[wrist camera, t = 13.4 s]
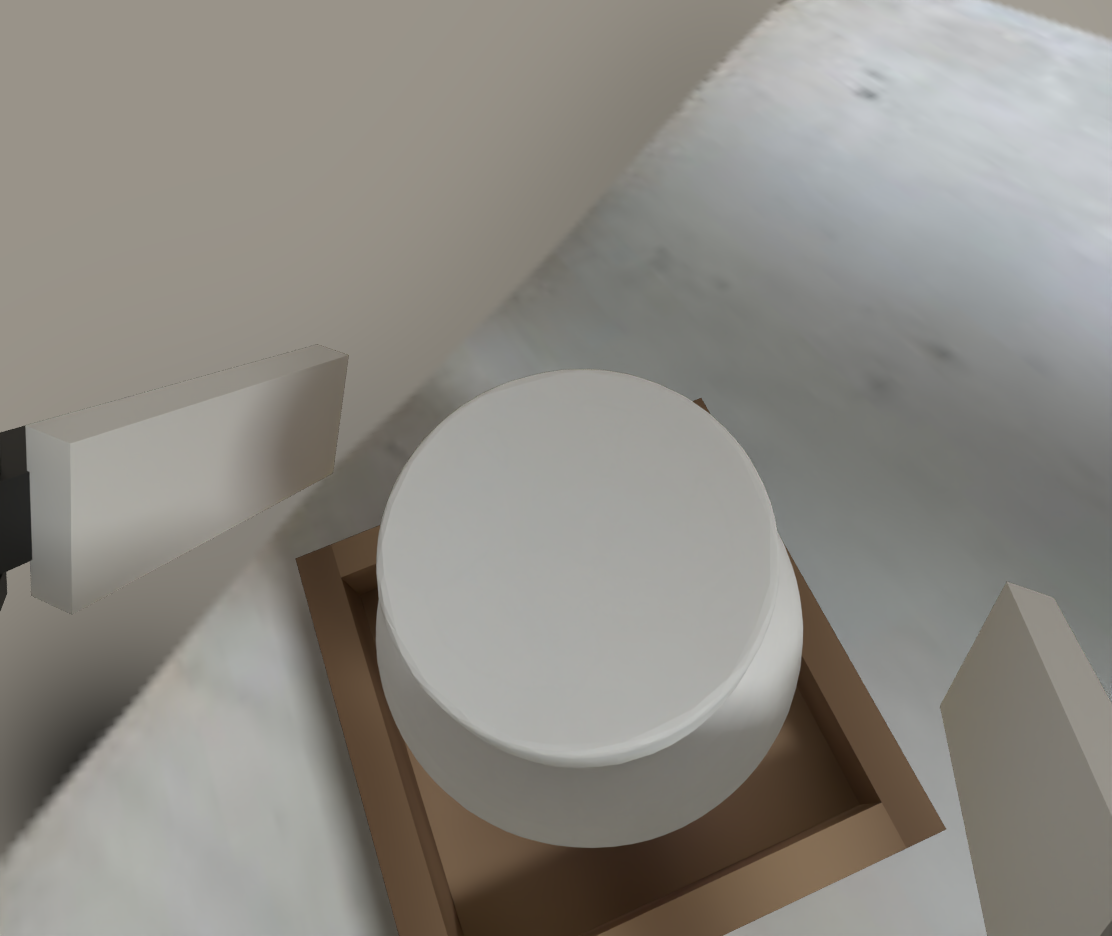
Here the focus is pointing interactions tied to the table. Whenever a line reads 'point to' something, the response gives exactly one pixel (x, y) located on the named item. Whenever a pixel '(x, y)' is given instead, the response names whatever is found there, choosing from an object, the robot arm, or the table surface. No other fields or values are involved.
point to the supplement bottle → (585, 609)
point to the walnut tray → (636, 869)
